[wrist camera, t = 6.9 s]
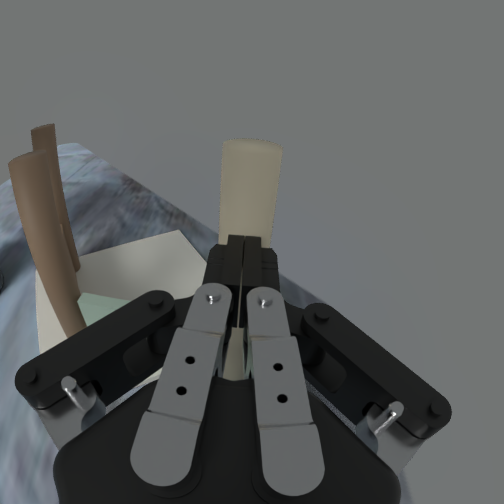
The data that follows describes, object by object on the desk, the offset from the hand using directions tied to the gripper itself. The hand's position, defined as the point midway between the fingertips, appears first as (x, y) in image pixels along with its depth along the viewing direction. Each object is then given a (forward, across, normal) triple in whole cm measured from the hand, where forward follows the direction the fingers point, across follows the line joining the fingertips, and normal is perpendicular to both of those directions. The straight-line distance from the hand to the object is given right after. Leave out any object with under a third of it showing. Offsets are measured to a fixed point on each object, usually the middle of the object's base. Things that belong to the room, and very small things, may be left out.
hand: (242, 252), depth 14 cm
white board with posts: (+9, +12, +13) cm, 20 cm away
